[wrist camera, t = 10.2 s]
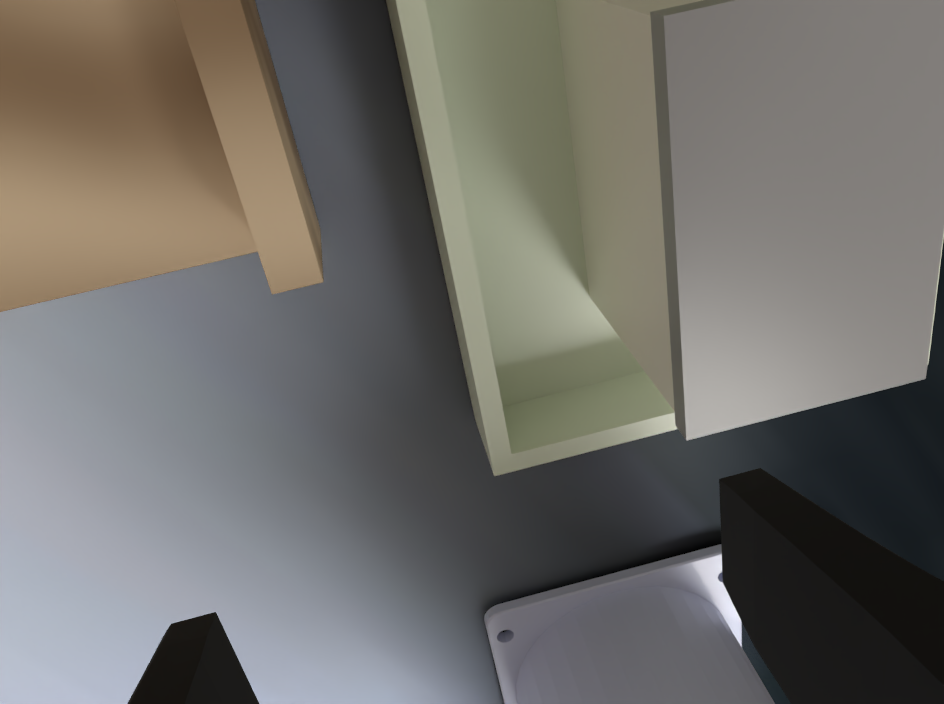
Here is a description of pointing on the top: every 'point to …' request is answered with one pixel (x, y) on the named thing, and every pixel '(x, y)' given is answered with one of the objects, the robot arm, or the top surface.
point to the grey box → (760, 194)
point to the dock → (144, 147)
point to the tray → (516, 232)
